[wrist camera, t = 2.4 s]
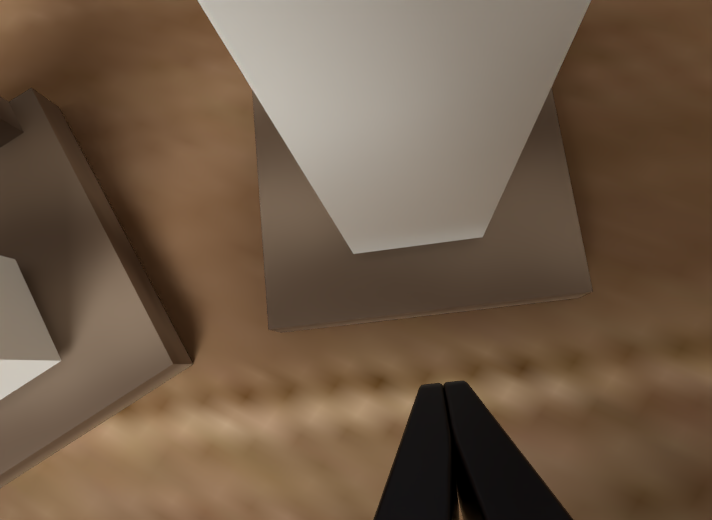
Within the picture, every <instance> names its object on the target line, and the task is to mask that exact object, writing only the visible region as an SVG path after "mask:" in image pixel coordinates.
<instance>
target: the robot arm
mask: <svg viewBox="0 0 712 520" xmlns="http://www.w3.org/2000/svg"><path fill="white" fill-rule="evenodd" d="M457 492H458V494H457ZM458 498H459V503H460V508H461V512H462V516H463V520H573V518H572V517H571V516H570V515H569V513H568V512H567V511H566V509H565V508H564V507H563V506H562V504H561V503H560V502H559V500H558V499H557V498H556V497H555V495H554V494H553V493H552V491H551V490H550V489H549V487H548V486H547V485H546V484H545V482H544V481H543V480H542V478H541V477H540V476H539V475H538V473H537V472H536V471H535V469H534V468H533V467H532V466H531V464H530V463H529V462H528V460H527V459H526V458H525V457H524V455H523V454H522V453H521V451H520V450H519V449H518V448H517V446H516V445H515V444H514V442H513V441H512V440H511V438H510V437H509V436H508V435H507V433H506V432H505V431H504V429H503V428H502V427H501V426H500V424H499V423H498V422H497V420H496V419H495V418H494V417H493V415H492V414H491V413H490V411H489V410H488V409H487V408H486V406H485V405H484V404H483V402H482V401H481V400H480V399H479V397H478V396H477V395H476V393H475V392H474V391H473V389H472V388H471V387H470V386H469V384H468V383H467V382H465V381H454V382H446V383H445V384H444V385H442V384H440V383H434V384H425V385H421V386H420V388H419V390H418V393H417V396H416V399H415V402H414V404H413V407H412V410H411V413H410V416H409V419H408V422H407V425H406V427H405V430H404V433H403V436H402V439H401V442H400V445H399V448H398V450H397V453H396V456H395V459H394V462H393V465H392V468H391V471H390V473H389V476H388V479H387V482H386V485H385V488H384V491H383V494H382V496H381V499H380V502H379V505H378V508H377V511H376V514H375V517H374V519H373V520H459V504H458Z"/></svg>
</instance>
